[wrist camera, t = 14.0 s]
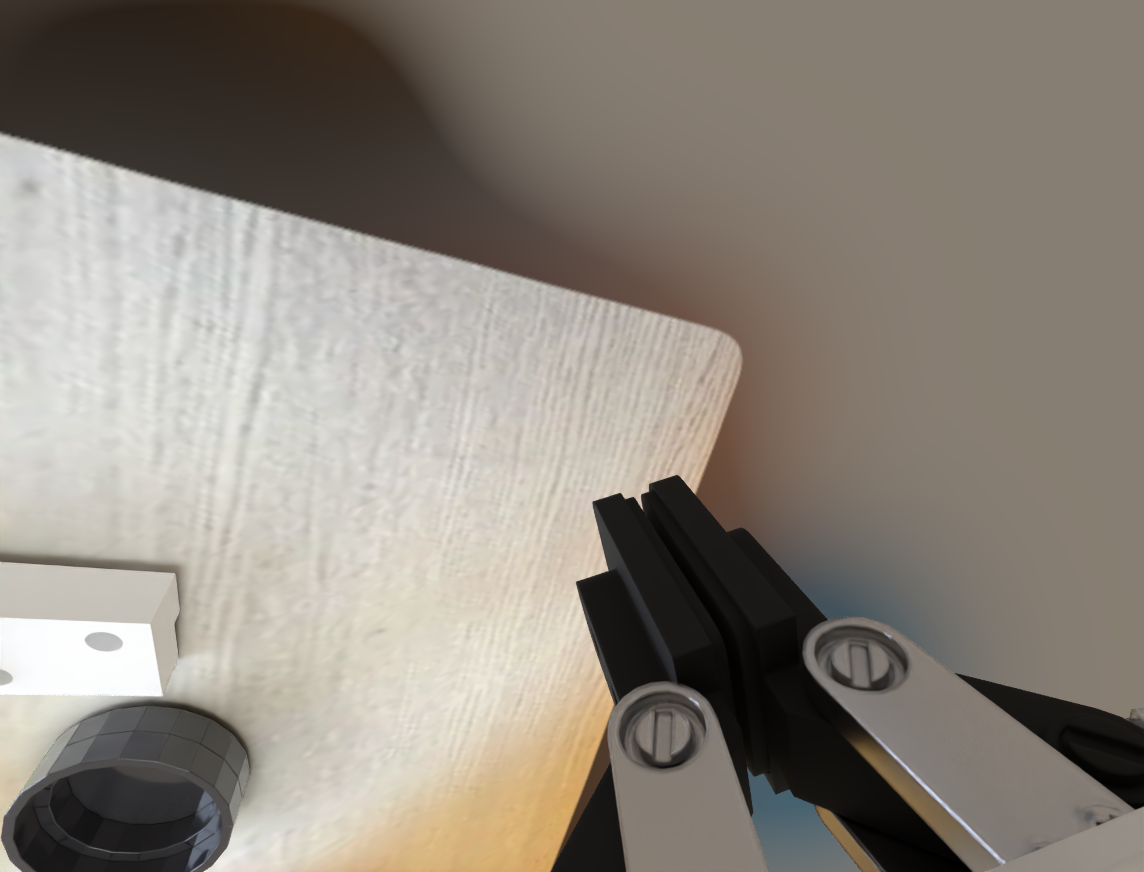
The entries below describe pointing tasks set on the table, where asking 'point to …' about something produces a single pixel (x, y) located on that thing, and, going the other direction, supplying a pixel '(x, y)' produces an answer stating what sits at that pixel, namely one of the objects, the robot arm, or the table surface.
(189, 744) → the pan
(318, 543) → the table surface
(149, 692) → the bracket
